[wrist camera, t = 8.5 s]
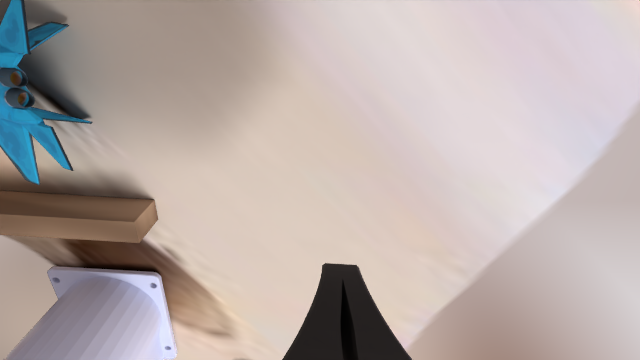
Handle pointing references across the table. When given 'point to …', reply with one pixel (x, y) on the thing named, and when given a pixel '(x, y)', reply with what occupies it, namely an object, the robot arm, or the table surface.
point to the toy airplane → (25, 96)
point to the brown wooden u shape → (76, 216)
